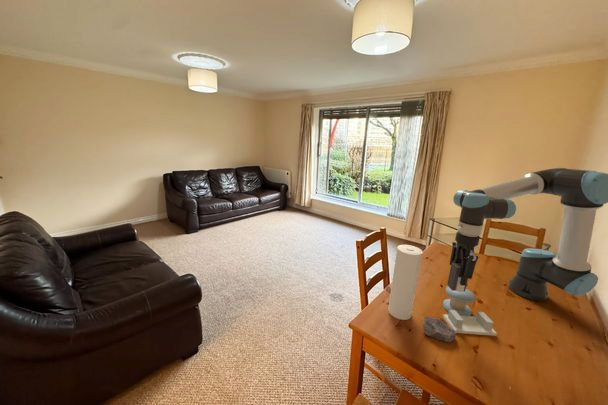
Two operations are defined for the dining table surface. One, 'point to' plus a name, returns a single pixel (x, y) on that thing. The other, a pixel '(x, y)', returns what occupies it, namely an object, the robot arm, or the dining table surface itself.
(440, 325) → the rock
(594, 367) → the dining table surface
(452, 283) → the gray rectangular block
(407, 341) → the dining table surface
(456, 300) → the spool
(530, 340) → the dining table surface
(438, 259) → the dining table surface
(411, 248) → the cylinder container
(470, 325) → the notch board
